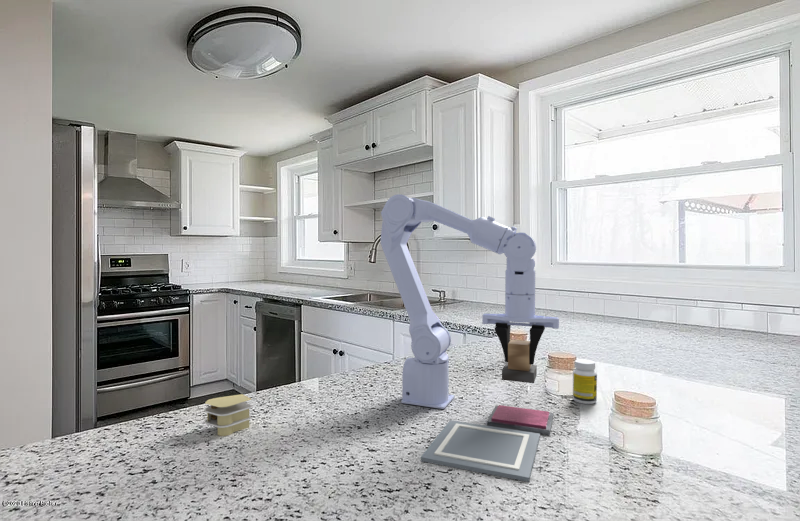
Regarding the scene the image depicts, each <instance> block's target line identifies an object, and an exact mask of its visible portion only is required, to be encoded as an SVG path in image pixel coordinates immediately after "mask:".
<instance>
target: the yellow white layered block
mask: <svg viewBox="0 0 800 521" xmlns="http://www.w3.org/2000/svg"><path fill="white" fill-rule="evenodd" d="M250 400H252V398H251V397H248V396H246V395H245V394H243V393H241V394H234V395H227V396H219V397H213V398H210V399H207V400H206V401H205V403H204V404H205V405H209V406H208V407H206V408H205V409H204V412H205V413H207V414H206V417H207V418H206V420H205V421H204V424H206V425H208V426H213V427H215V428H217V436H220V437H226V436H230V435H232V434H234V433H235V432H239V431H242V430H246V429H249V428H250V420H252V419H253V416H250V409H251V408H253V406H252V405H251V404H249V403H247V401H250Z"/></svg>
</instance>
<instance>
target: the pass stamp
mask: <svg viewBox="0 0 800 521" xmlns="http://www.w3.org/2000/svg"><path fill="white" fill-rule="evenodd" d="M529 357H530V340H521V339H510V342H509V343H508V362H505V364H504V366H503V367H502V369H501V380H502V381H506V382H507V381H510V382H517V383H518V382H519V383H525V384H535V381H536V378H537V375H538V374H537V371H538V370H537V367H538V365H536V364H533V365H531V364H529Z"/></svg>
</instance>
